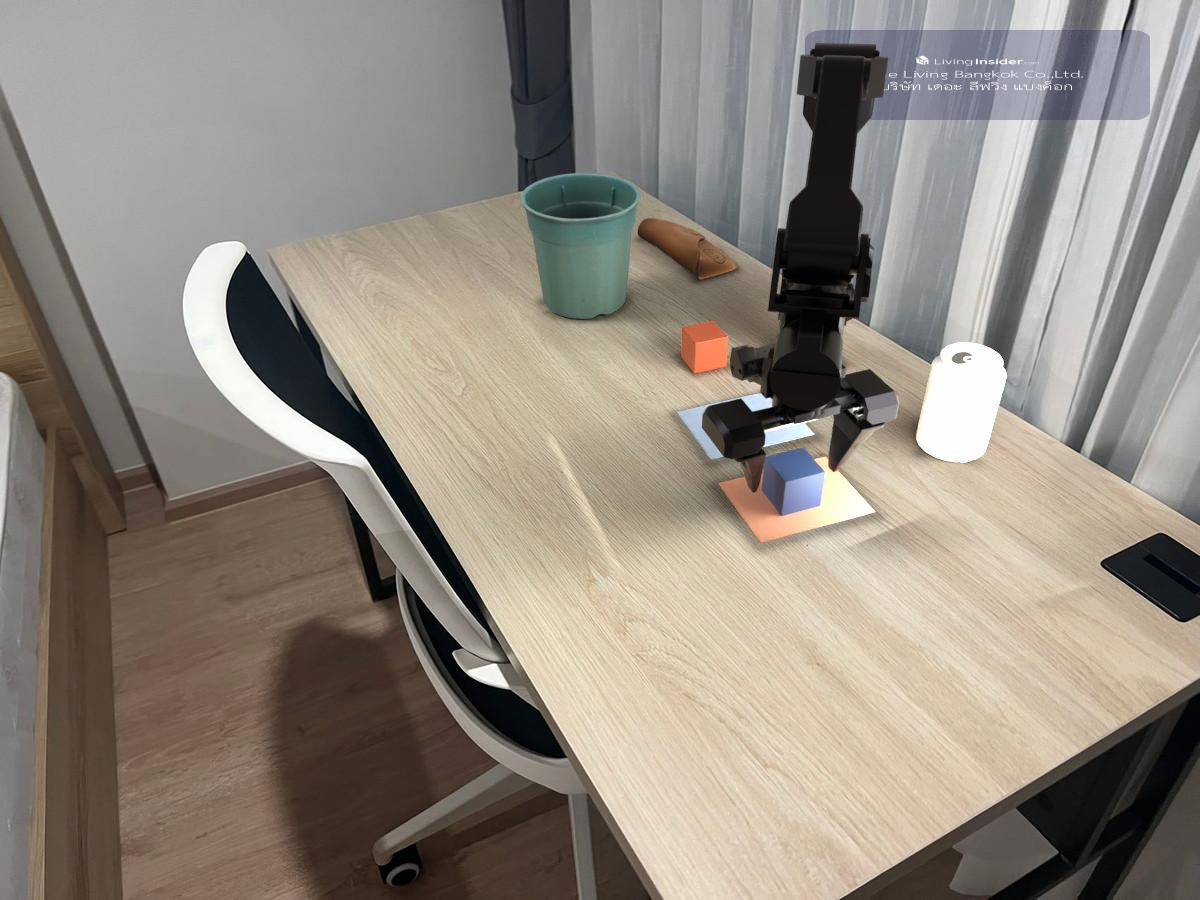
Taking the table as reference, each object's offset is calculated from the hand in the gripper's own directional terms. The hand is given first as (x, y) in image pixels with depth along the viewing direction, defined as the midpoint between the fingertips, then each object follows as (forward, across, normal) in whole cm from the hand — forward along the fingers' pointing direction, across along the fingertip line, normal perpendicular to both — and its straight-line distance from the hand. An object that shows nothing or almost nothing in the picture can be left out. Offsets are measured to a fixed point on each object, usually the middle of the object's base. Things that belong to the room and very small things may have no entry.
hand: (792, 479), depth 93 cm
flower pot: (+3, +6, -51) cm, 51 cm away
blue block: (+2, 0, 0) cm, 2 cm away
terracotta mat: (+3, 0, 0) cm, 3 cm away
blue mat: (+3, -2, -14) cm, 14 cm away
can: (+3, -21, -2) cm, 21 cm away
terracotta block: (+3, -3, -29) cm, 29 cm away
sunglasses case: (+3, -14, -60) cm, 61 cm away
